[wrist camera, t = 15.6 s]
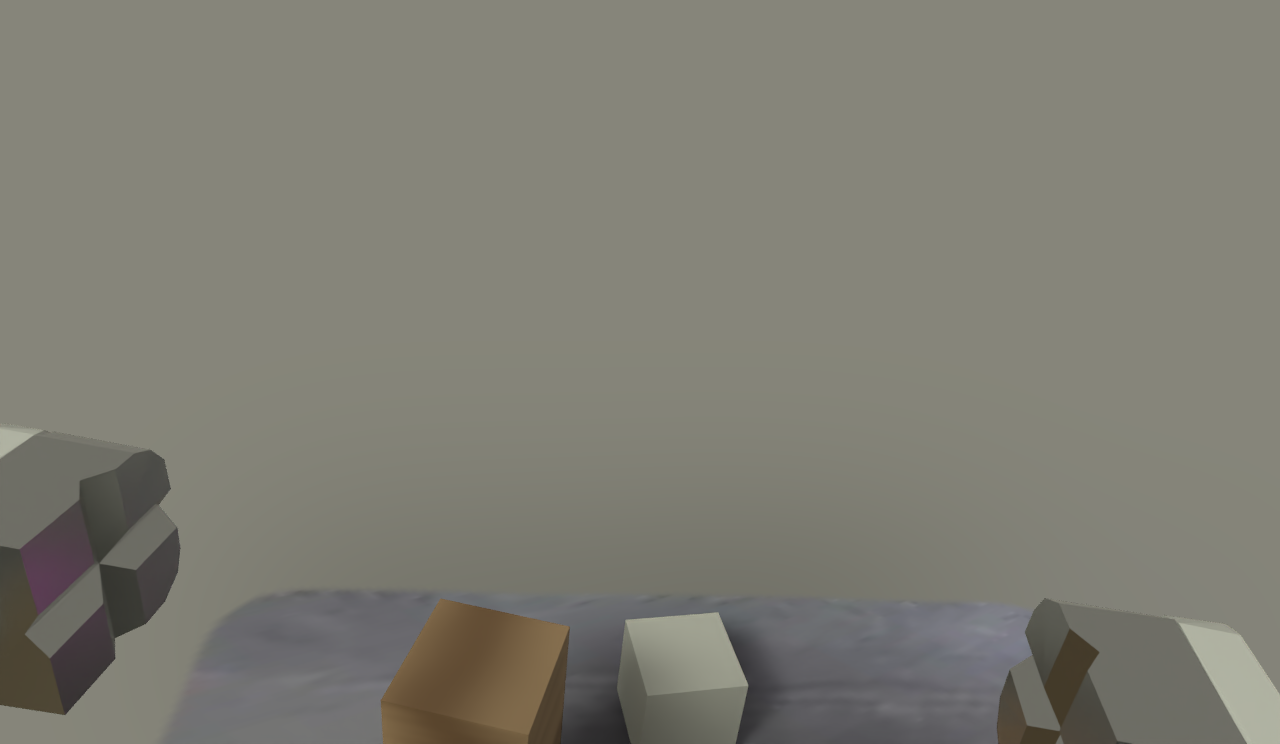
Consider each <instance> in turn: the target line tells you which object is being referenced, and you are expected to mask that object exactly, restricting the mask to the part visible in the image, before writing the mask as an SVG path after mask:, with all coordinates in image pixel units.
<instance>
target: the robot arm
mask: <svg viewBox="0 0 1280 744" xmlns="http://www.w3.org/2000/svg"><path fill="white" fill-rule="evenodd" d="M170 489H171V488H170V483H169V479H168V475H167V469H166V465H165V460H164V459H163V458H162V457H160V456H159V455H157V454H156V453H154V452H153V451H151V450H149V449H143V448H138V447H132V446H127V445H122V444H117V443H111V442H106V441H101V440H96V439H90V438H85V437H80V436H74V435H69V434H64V433H58V432H48V431H45V430H40V429H34V428H28V427H23V426H17V425H10V424H0V705H4V706H10V707H16V708H22V709H29V710H35V711H42V712H48V713H54V714H61V715H66V713H67V712H68V711H69V710H70V709H71V708H72V707H73V706H74V704H75V703H76V702H77V701H78V700H79V699H80V698H81V696H82V695H83V694H84V693H85V692H86V691H87V689H89V688H90V687H91V685H92V684H93V683H94V682H95V681H96V680H97V678H98V677H99V676H100V675H101V674H102V673H103V672H104V671H105V670H106V669H107V667H108V666H109V665H110V664H111V663H112V662H113V661H114V660H115V638H116V637H118V636H120V635H122V634H125V633H127V632H129V631H131V630H133V629H135V628H138V627H140V626H142V625H144V624H146V623H147V622H148V621H149V620H150V618H151V617H152V616H153V615H154V614H155V613H156V611H157V610H158V609H159V608H160V607H161V605H162V604H163V603H164V602H165V600H166V598H167V596H168V593H169V591H170V589H171V586H172V584H173V582H174V580H175V577H176V575H177V573H178V565H179V555H180V543H179V536H178V529H177V527H176V525H175V524H174V523H173V522H172V521H171V519H170V518H169V517H168V516H167V515H166V513H165V512H164V511H163V510H162V509H161V507H160V506H159V504H160V503H161V501H162V500H163V499H164V497H165V496H166V494H167V493H168V492H169V491H170ZM1025 634H1026V637H1027V640H1028V643H1029V646H1030V649H1031V651H1032V654H1033V655H1032V656H1030V657H1029V658H1027V659H1025V660H1024V661H1022V662H1021V663H1019V664H1017V665H1016V666H1014V667H1013V668H1011V669H1010V670H1009V673H1008V676H1007V679H1006V682H1005V684H1004V687H1003V690H1002V693H1001V696H1000V702H999V712H998V722H997V733H998V744H1280V694H1279V693H1278V691H1277V690H1276V688H1275V686H1274V685H1273V684H1272V682H1271V681H1270V679H1269V677H1268V676H1267V674H1266V673H1265V671H1264V670H1263V668H1262V667H1261V665H1260V664H1259V662H1258V661H1257V659H1256V658H1255V656H1254V655H1253V653H1252V652H1251V650H1250V649H1249V647H1248V645H1247V644H1246V642H1245V641H1244V640H1243V638H1242V636H1241V635H1240V634H1239V633H1237V632H1236V631H1235V630H1233V629H1232V628H1230V627H1229V626H1227V625H1226V624H1223V623H1216V622H1209V621H1201V620H1194V619H1187V618H1180V617H1172V616H1165V615H1164V616H1162V617H1158V616H1152V615H1147V614H1140V613H1134V612H1128V611H1122V610H1116V609H1109V608H1103V607H1097V606H1091V605H1084V604H1078V603H1072V602H1066V601H1060V600H1053V599H1046V598H1045V599H1044V600H1043V601H1042V602H1041V603H1040V604H1039V605H1038V606H1037V607H1036V609H1035V610H1034V611H1033V614H1032V616H1031V619H1030V621H1029V623H1028V626H1027V628H1026V630H1025Z"/></svg>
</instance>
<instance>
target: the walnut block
mask: <svg viewBox="0 0 1280 744" xmlns="http://www.w3.org/2000/svg"><path fill="white" fill-rule="evenodd" d="M569 630H570V627H569V626H564V625H560V624H555V623H550V622H546V621H541V620H537V619H532V618H527V617H523V616H518V615H514V614H509V613H504V612H500V611H495V610H491V609H486V608H481V607H477V606H472V605H468V604H463V603H458V602H454V601H449V600H445V599H440V600H439V602H438V604H437V605H436V607H435V609H434V611H433V612H432V614H431V616H430V617H429V619H428V621H427V623H426V624H425V626H424V628H423V629H422V631H421V633H420V634H419V636H418V638H417V640H416V641H415V643H414V645H413V646H412V648H411V650H410V652H409V653H408V655H407V657H406V658H405V660H404V662H403V664H402V665H401V667H400V669H399V670H398V672H397V674H396V675H395V677H394V679H393V681H392V682H391V684H390V686H389V687H388V689H387V691H386V693H385V694H384V696H383V698H382V699H381V711H382V730H383V744H560V743H561V730H562V718H563V705H564V693H565V680H566V667H567V655H568V642H569Z"/></svg>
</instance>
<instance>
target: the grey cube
mask: <svg viewBox="0 0 1280 744" xmlns="http://www.w3.org/2000/svg"><path fill="white" fill-rule="evenodd" d="M747 690H748V683H747V681H746V679H745V676H744V674H743V671H742V669H741V666H740V664H739V662H738V659H737V657H736V654H735V652H734V650H733V647H732V645H731V642H730V640H729V638H728V635H727V633H726V630H725V628H724V626H723V623H722V621H721V618H720V616H719V614H718V613H707V614H694V615H682V616H669V617H657V618H644V619H632V620H626V621H625V629H624V637H623V645H622V653H621V661H620V668H619V676H618V684H617V691H618V695H619V699H620V703H621V707H622V711H623V715H624V719H625V723H626V727H627V731H628V735H629V739H630V743H631V744H736V740H737V735H738V731H739V726H740V722H741V717H742V713H743V708H744V704H745V699H746V695H747Z"/></svg>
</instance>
